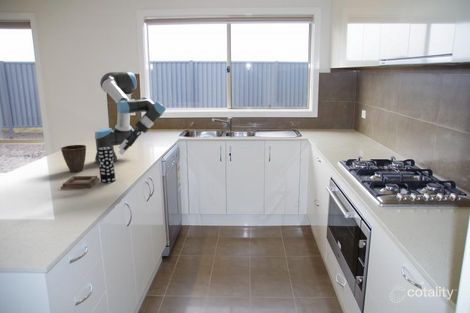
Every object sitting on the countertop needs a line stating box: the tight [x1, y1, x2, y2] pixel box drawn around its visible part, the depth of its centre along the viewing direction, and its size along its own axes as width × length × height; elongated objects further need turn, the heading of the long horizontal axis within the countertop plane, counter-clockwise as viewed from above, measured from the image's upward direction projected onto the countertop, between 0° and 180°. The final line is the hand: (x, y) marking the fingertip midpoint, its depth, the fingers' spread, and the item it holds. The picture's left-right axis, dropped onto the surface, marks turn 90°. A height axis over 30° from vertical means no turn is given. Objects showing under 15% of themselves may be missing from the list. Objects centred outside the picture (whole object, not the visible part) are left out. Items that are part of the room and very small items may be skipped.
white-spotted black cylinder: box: [96, 147, 116, 184], centre depth 208 cm, size 8×8×20 cm
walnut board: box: [60, 175, 101, 190], centre depth 205 cm, size 16×16×3 cm
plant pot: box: [60, 144, 87, 173], centre depth 231 cm, size 15×15×16 cm
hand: (120, 151), depth 208 cm, fingers open, 13 cm apart
